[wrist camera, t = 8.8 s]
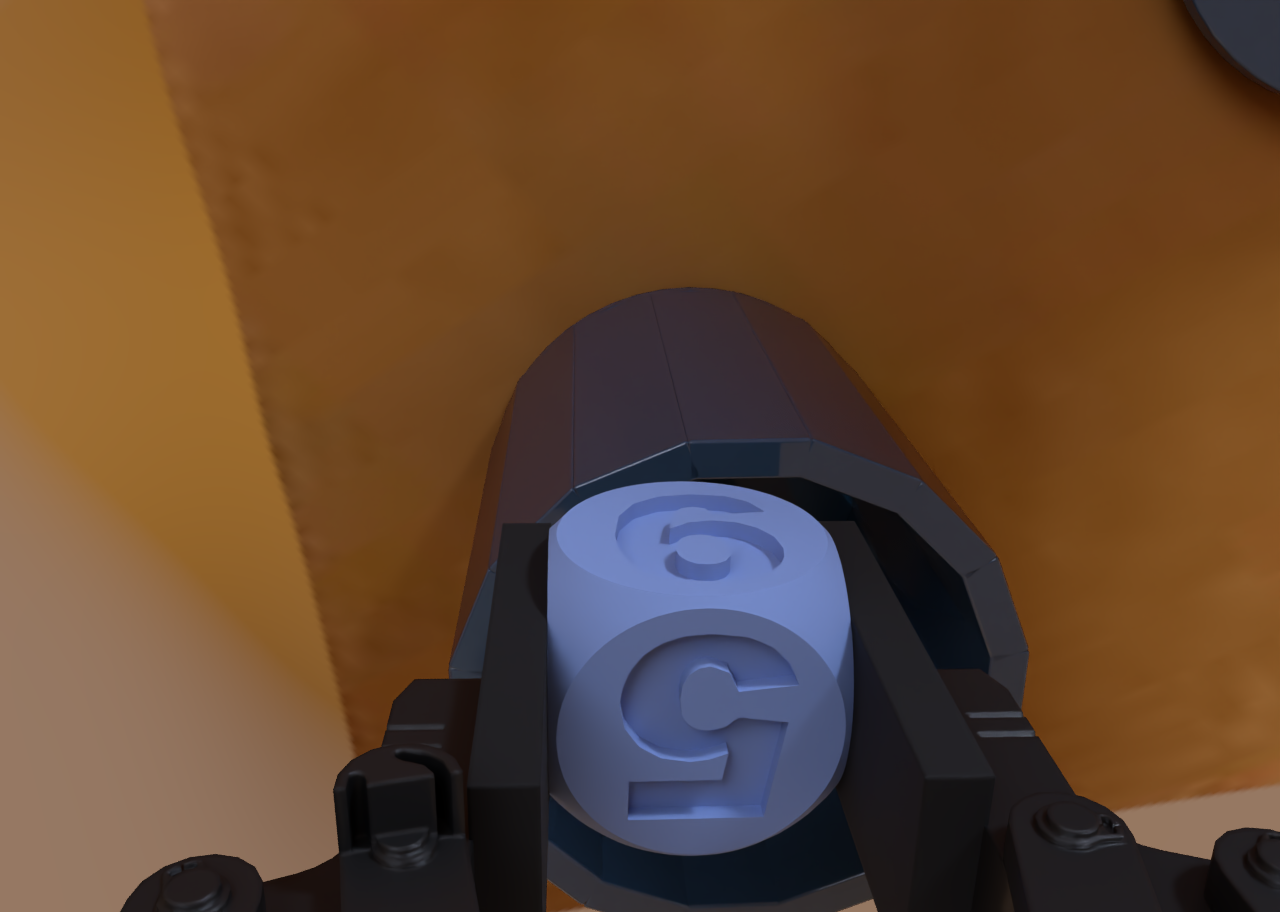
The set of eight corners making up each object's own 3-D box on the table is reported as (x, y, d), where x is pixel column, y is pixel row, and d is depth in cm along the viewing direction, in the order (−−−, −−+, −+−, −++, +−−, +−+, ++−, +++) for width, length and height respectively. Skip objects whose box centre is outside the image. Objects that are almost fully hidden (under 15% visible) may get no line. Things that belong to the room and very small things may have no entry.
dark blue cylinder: (484, 289, 32) (431, 445, 21) (890, 284, 33) (1061, 433, 21) (502, 647, 37) (467, 944, 25) (862, 637, 37) (992, 923, 26)
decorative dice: (552, 700, 19) (548, 865, 16) (550, 479, 18) (545, 601, 14) (789, 696, 19) (841, 857, 16) (805, 478, 18) (867, 598, 14)
